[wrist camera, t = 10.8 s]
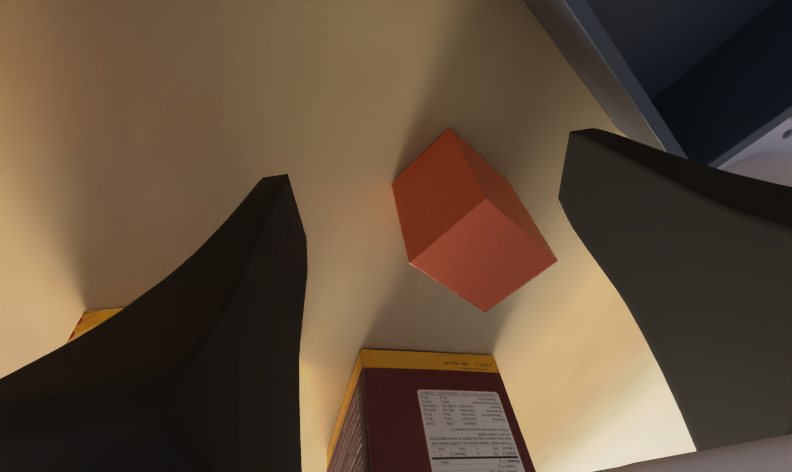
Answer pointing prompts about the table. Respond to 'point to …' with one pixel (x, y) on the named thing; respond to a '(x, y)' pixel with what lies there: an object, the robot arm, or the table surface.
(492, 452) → the supplement box
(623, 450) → the table surface
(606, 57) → the storage box
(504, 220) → the small box
